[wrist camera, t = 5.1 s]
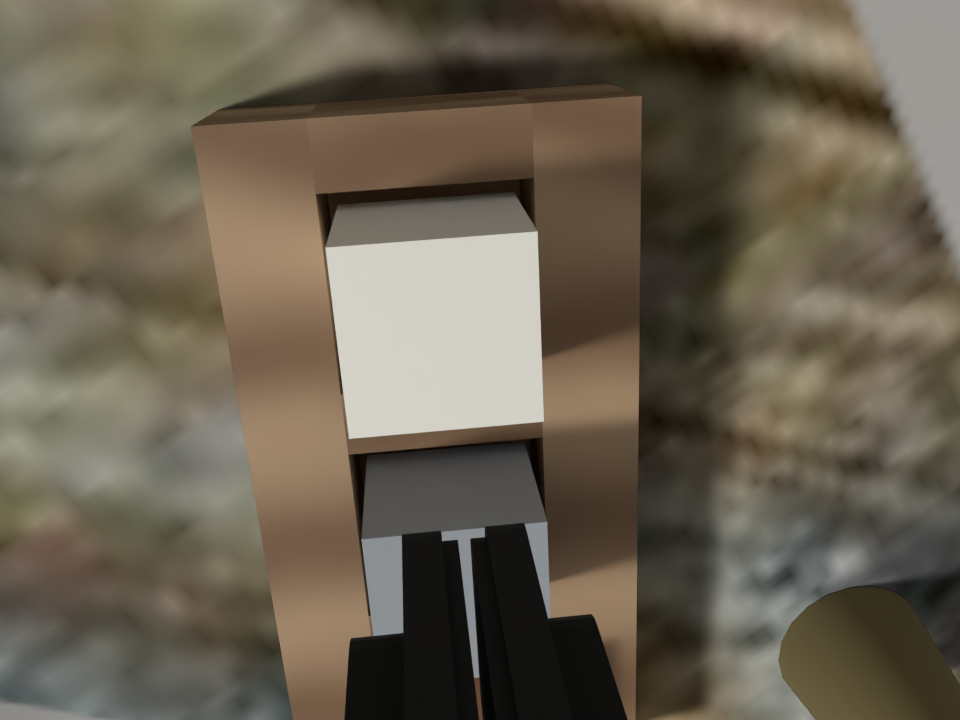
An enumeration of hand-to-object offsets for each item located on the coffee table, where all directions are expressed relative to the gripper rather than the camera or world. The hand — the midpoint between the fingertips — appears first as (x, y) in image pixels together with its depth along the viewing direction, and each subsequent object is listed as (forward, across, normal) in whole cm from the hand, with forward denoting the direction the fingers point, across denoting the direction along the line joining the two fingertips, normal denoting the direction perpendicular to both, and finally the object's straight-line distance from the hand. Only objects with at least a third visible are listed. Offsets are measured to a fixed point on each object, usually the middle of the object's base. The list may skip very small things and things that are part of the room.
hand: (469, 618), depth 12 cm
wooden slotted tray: (+19, 0, +8) cm, 20 cm away
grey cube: (+15, 0, +8) cm, 17 cm away
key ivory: (+15, 0, 0) cm, 16 cm away
